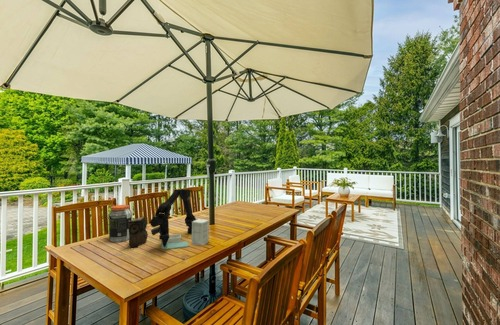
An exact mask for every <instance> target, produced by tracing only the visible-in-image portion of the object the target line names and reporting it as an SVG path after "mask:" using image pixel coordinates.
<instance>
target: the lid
mask: <svg viewBox="0 0 500 325" xmlns="http://www.w3.org/2000/svg"><path fill="white" fill-rule="evenodd" d="M188 247H189V243H188V240H185V241H181V242H175V243H167V244H166V246H165V247H164V246H163V242H162V241H161V250H164V249H165V250H166V249H167V250H173V249H182V248H188Z"/></svg>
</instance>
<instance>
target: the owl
mask: <svg viewBox="0 0 500 325" xmlns="http://www.w3.org/2000/svg"><path fill="white" fill-rule="evenodd" d="M147 226H148V223H147V220H146V216H142V217H138V218H135V219H132V221H129V239H128V245H129V248H130V249H131V248H133V249H137V248H139V246H142V245H145V244H146V242H147V239H148V236H149V233H148V230H147Z"/></svg>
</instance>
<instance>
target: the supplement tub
mask: <svg viewBox="0 0 500 325" xmlns="http://www.w3.org/2000/svg"><path fill="white" fill-rule="evenodd" d="M110 210H111V211H110V212H109V213H108V236H109V237H108V238H109V241H110V242H113V243H119V242H121V243H122V242H125V241H129V221H132V220H133V219H132V218H133V216H132V210H131V209H130V205H129V204H117V205H112V206H110Z"/></svg>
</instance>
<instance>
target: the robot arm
mask: <svg viewBox="0 0 500 325" xmlns="http://www.w3.org/2000/svg"><path fill="white" fill-rule="evenodd" d="M178 198H180V199H181V200H182V201H183V202H182V203H183V207H184V211H185V215H186V217H185V218H184V224H185V226H186V227H187V234H191V235H192V222H193V221H195V220H197V218H196V216H195V215H194V214H193V210H192V206H191V201H190V199H191V190H190V189H188V188H181V189H179V188H176V189H174V190H173V192H172V193H171V195H170V196H169V197H168V198H167V200H166V201H164V202H162V203H160V205H159V206H158V207H157V210H156V212H155V214H154V216H152V218H151V219H150V222H149V224H150V226H151V227H152V229H151V230H150V232H151V235H152V236H155V235H157V234H159V238H158V239H159V241H161V243H162V242H163V246H164V247H165V246H166V244H168V243H167V241H168V239H169V235H170V228H169V226H170V225H169V216H171V213H170V211H171V210H172V206H173V205H174V203H175V202H176V200H177V199H178Z"/></svg>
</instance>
